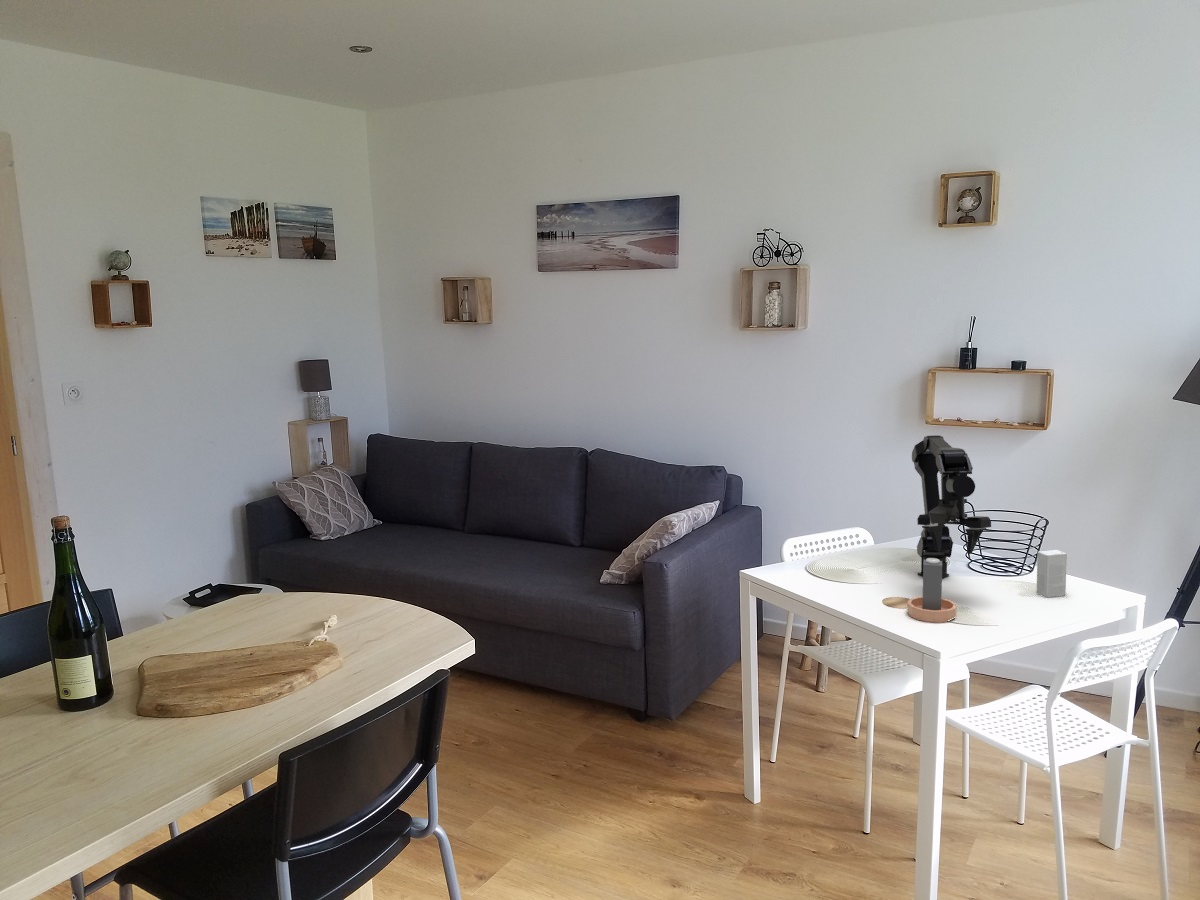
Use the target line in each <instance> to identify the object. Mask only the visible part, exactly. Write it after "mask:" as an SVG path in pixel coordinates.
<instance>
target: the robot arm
mask: <svg viewBox="0 0 1200 900" xmlns="http://www.w3.org/2000/svg"><path fill="white" fill-rule="evenodd" d="M911 461H912V463H913V465H914V470H915V471H916V472H917V474H919V476H920V478H921V488H922V497H923V499H922V500H923V508H924V509H923V510H924V513H923V514H919V515H918V516H917V520H916V521H917V526H919V525H920V526H921V528H922V531H921V532H920V537H919V540H918V543H917V545H916V553H917V555H918V556H919V558H920V559H921V560H920V561H921V562H920V566H921V567H920V571H919V572H917V576H921V577H923V562H924V560H926V559H927V558H936V559H939V560H940V561H942V579H943V578H947V577H949V576H950V573H948V562H947V558H951V556H952V553H953V546H954V541H953V539H952V537H951V536H950V528H949V526H948V525H962V526H966V527H967V528H964V530H965V532H966V535H967V554H968V555H972V554H973V552H974V550H975V548H976V544H977V543H978V540H979V538H980V537H981V535H982V533H983V532H984V531H987V528H992V521H991V518H990V517H989V516H982V515H981V516H980V515H974V516H968V513H965V503H967V502H968V499H967V498H969V497H970V496H972V495H973V494H974V492H975V489H976V483H975V480H973V478H971V477H970V476H968V475H972V474H973V469H974V468H973V465H972V463H971V460H970V457H969V455H968V453H966V451H965V449H963V448H958V447H952V445H950V444H949V443H948V442H947V441H946V440H945V439H944V436H942V435H941V434H940V435H926V436H924V437H923V439H922V440H921V441H919V442H918V443H916V444H915V445H914V447H913V449H912V451H911ZM938 473H939V474H940V478H941V479H940V485H941V487H940V488H941V491H940V488H939V479H938V477H939V476H938ZM940 493H941V496H940ZM940 497H941V498H940Z"/></svg>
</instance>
